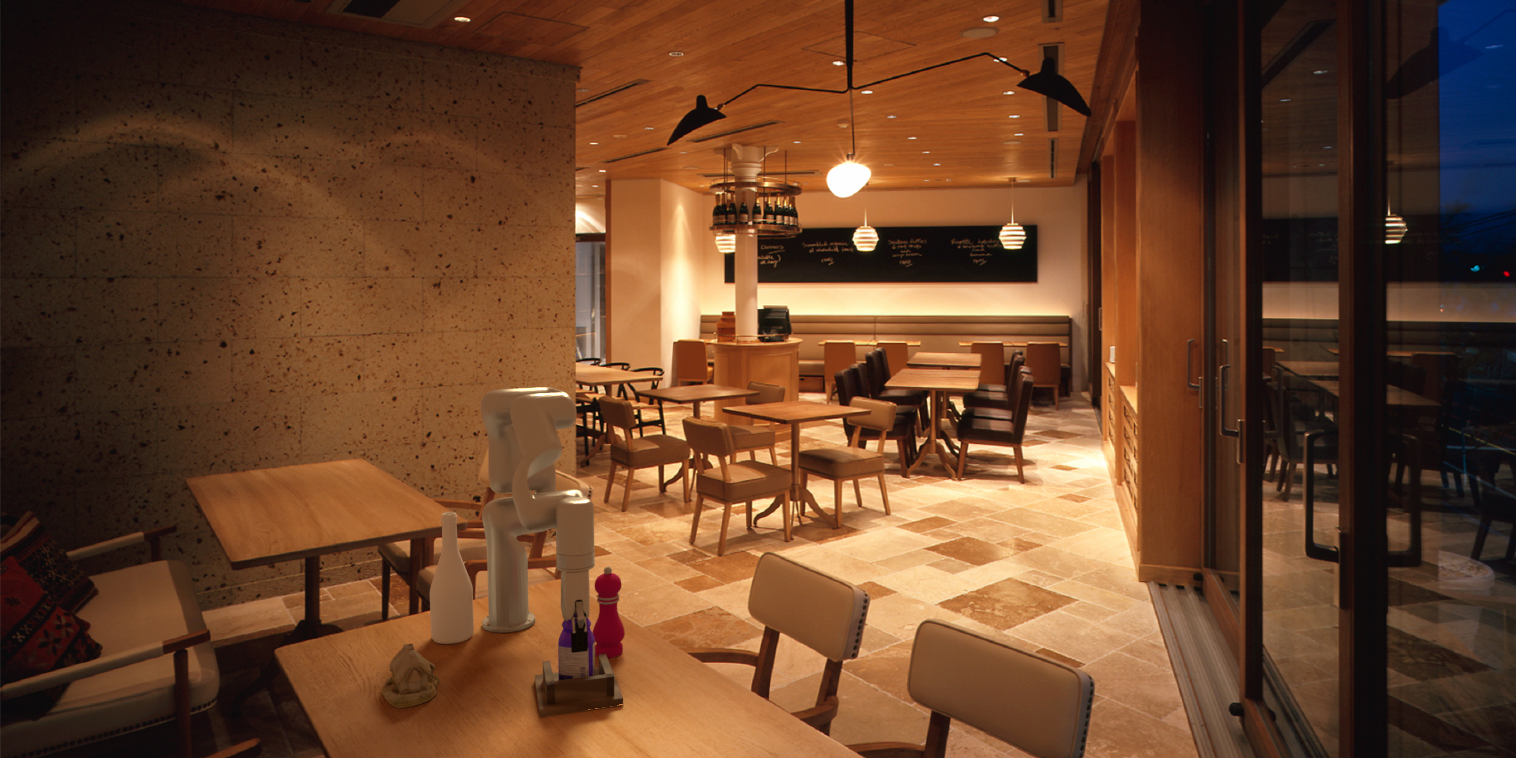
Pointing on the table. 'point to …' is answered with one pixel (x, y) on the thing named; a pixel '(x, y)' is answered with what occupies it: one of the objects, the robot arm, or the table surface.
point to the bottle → (575, 654)
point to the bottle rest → (577, 690)
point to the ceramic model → (410, 679)
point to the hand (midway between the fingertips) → (576, 641)
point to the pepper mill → (608, 616)
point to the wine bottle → (451, 590)
